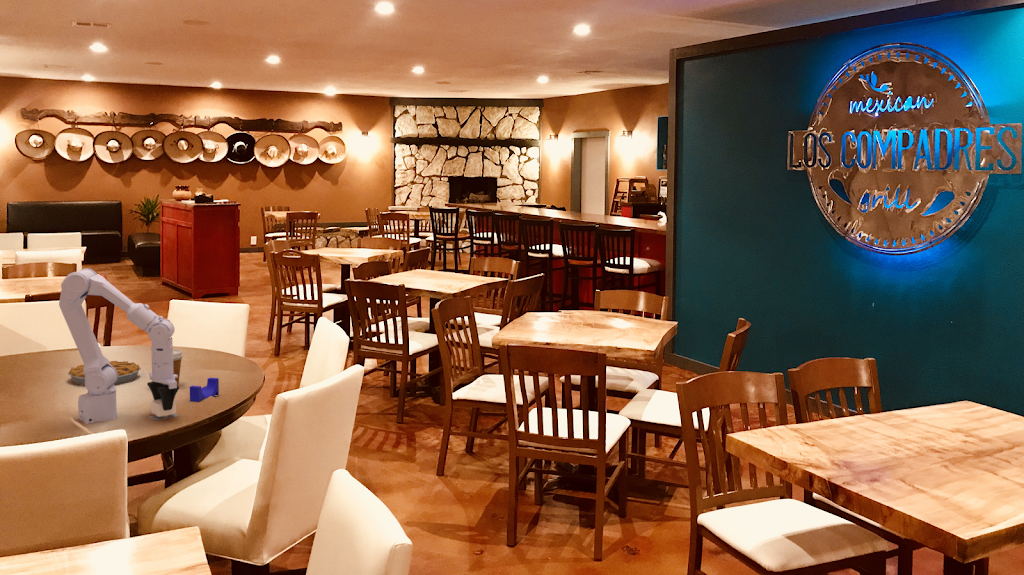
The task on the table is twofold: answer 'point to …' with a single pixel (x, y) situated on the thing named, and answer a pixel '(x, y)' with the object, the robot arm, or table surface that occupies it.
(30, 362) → the table surface
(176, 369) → the disposable coffee cup
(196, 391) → the blue u-shaped cradle
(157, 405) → the small white box
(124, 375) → the pie
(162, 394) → the robot arm
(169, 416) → the base plate
